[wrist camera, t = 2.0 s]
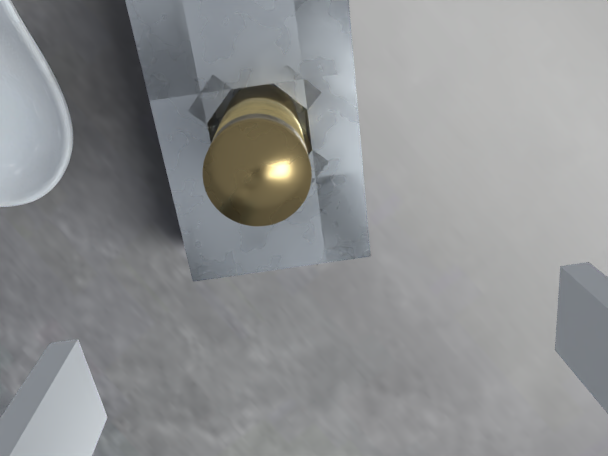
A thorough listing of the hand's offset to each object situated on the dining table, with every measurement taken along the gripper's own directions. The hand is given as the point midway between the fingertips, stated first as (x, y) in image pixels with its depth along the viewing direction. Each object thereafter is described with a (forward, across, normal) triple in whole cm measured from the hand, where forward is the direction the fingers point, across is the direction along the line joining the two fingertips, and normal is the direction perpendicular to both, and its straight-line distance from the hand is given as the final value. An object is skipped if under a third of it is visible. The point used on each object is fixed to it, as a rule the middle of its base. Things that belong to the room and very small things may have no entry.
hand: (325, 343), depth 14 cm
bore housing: (+25, -2, +2) cm, 25 cm away
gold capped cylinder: (+24, -2, +2) cm, 24 cm away
